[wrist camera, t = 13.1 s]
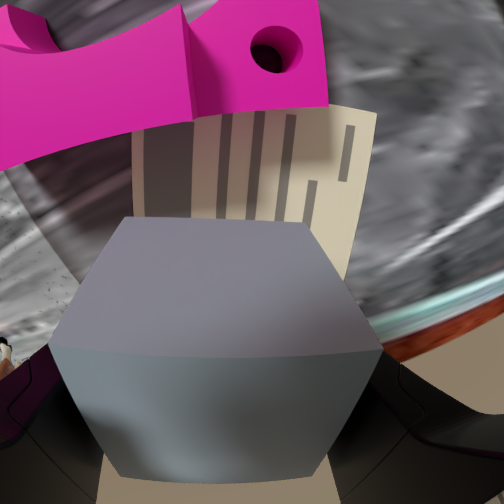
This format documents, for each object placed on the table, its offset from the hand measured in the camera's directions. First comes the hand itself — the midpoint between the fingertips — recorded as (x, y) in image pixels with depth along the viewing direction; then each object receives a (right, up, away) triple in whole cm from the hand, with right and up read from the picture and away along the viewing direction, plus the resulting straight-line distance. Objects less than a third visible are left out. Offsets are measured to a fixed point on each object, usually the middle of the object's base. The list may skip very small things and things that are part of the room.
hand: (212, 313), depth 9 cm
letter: (+1, +5, +7) cm, 8 cm away
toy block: (-4, +6, +2) cm, 7 cm away
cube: (0, 0, +1) cm, 1 cm away
